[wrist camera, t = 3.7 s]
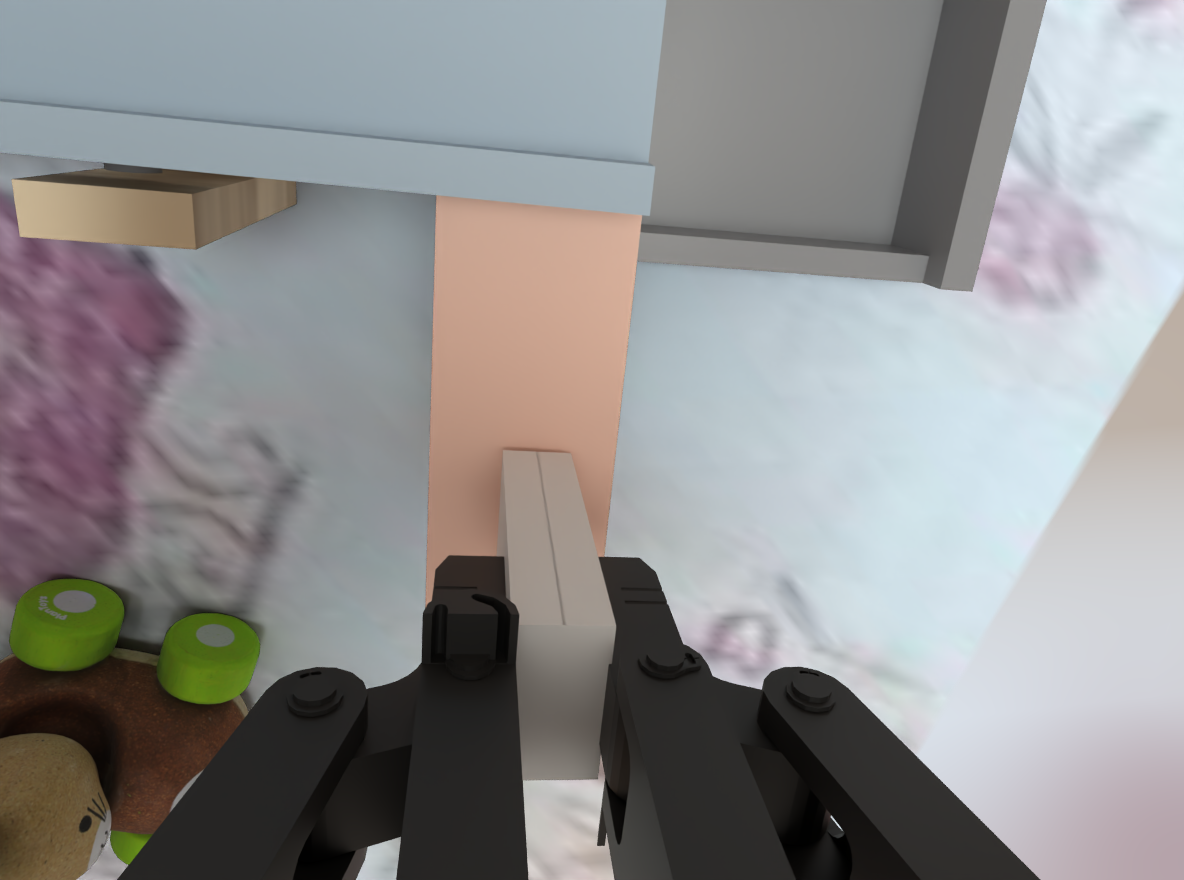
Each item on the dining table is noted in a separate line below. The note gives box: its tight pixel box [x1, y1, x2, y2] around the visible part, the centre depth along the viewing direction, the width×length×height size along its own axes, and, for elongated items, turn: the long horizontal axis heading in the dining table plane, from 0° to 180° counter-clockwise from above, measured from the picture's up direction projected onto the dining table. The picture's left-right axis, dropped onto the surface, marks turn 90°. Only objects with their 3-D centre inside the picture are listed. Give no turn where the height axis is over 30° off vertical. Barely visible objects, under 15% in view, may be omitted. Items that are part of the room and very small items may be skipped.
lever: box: [0, 0, 666, 608], centre depth 16 cm, size 20×16×5 cm
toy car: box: [0, 579, 260, 880], centre depth 24 cm, size 9×9×11 cm
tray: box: [637, 0, 1047, 292], centre depth 23 cm, size 13×10×4 cm
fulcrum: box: [12, 168, 297, 249], centre depth 18 cm, size 4×9×10 cm, turn 175°
